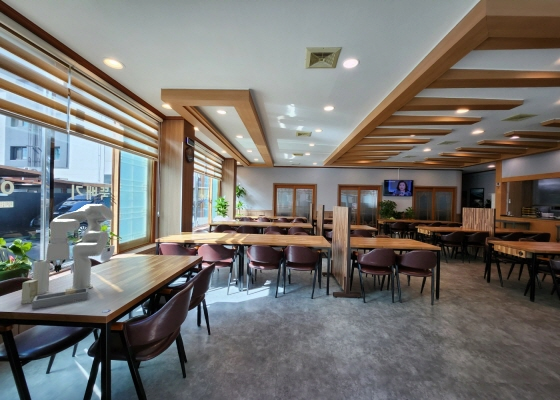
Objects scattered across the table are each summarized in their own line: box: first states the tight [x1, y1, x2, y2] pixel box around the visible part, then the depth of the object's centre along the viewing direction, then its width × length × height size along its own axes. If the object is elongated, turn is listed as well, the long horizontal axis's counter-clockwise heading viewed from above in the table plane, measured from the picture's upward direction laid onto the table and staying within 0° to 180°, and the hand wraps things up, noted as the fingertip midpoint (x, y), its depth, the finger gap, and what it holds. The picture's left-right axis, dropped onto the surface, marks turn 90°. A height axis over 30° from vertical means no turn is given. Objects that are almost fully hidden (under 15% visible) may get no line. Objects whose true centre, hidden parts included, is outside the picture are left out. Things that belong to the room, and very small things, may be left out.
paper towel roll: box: [32, 259, 51, 296], centre depth 157 cm, size 7×6×21 cm
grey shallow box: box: [31, 288, 89, 310], centre depth 144 cm, size 10×24×4 cm, turn 130°
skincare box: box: [20, 279, 38, 305], centre depth 143 cm, size 6×4×12 cm
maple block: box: [64, 287, 75, 295], centre depth 146 cm, size 4×4×4 cm
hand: (57, 271), depth 144 cm, fingers closed
